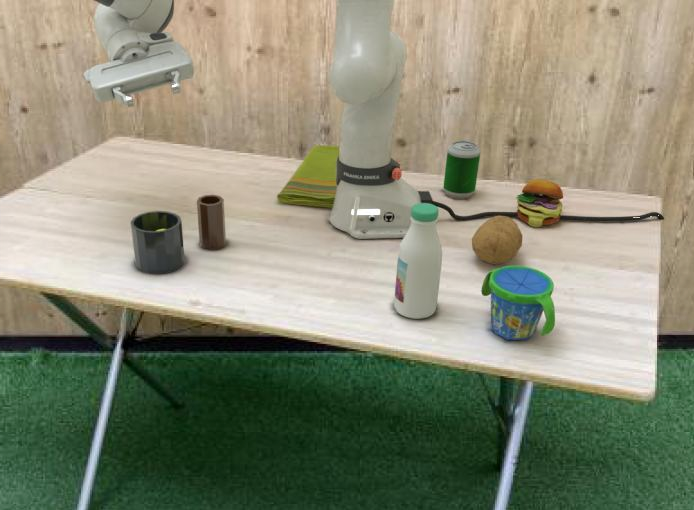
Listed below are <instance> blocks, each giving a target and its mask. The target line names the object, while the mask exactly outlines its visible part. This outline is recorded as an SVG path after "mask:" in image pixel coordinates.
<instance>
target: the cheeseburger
mask: <svg viewBox="0 0 694 510" xmlns="http://www.w3.org/2000/svg"><path fill="white" fill-rule="evenodd" d="M515 198H516V199H517V200H516V203H517V207H516V208H517V210H516V212H517V213H518V217H517V218H519V219H520V220H521V221H523V222H525V223H527V224H528V225H529V226H530V227H533V228H540V227H542V226H549V225H552V224H555V223H557V222H559V221H560V220H559V218H560V215H562V214H563V203H562V201H561V200H562V199H564V193H563V190H562V188H561V186H560V185H559V184H558V183H556V182H554V181H550V180H548V179H540V178H535V179H534V178H533V179H531V180H530V181H528V182H527V183H526V184H525V185H524V186H523V188H522V190H521V193H520V194H517V195H516V197H515Z"/></svg>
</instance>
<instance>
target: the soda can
mask: <svg viewBox="0 0 694 510" xmlns="http://www.w3.org/2000/svg"><path fill="white" fill-rule="evenodd" d="M446 152H447V153H446V161H445V169H444V177H443V178H444V180H443V186H442V191H444V192H445V194H446V195H447V197H449V198H452V199H455V200H456V199H458V200H464V199H468V198H470V197H471V196H472V195H474V194H475V192H476V187H477V180H478V172H479V166H480V165H479V164H480V158H481V148H479V146H478V144H477V143H476V142H472V141H468V140H456V141H453V142H452V143H451V144H450V145H448V147H447V151H446Z"/></svg>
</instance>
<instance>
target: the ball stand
mask: <svg viewBox="0 0 694 510" xmlns="http://www.w3.org/2000/svg"><path fill="white" fill-rule="evenodd" d="M196 210H197V211H196V212H197V224H198V237H199V238H198V239H199V244H200V245H199V246H200V247H201V248H202V249H204V250H208V251H217V250H221V249H223V248H225V247H226V241H227V237H226V236H227V234H226V216H225V215H226V214H225V199H224V198H223V197H222V196H220V195H217V194H205V195H201V196H199V197H198V198H197V200H196Z"/></svg>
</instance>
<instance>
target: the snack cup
mask: <svg viewBox="0 0 694 510" xmlns="http://www.w3.org/2000/svg"><path fill="white" fill-rule="evenodd" d="M554 286H555V284H554V281H553V279H552V278H551V277H550V276H549V275H548V274H546V273H545V272H543V271H541V270H539V269H536V268H533V267H529V266H524V265H506V266H502V267H498V268H495V269H492V270H490V271H488V272H487V273H486V275H485V277H484V279H483V282H482V285H481V290H480V291H481V295H482V296H483V297H487V296H490V315H489V316H490V329H491V330H492V331H493V332H494V333H495V334H496V335H498V336H499V337H502V338H504V339H505V340H507V341H508V340H514V341H522V340H528V339H530V337H532V336H533V334H535V332H536V330H537V327H538V325H539V323H540V320H541V317H542V316H543V314H544V317H545V322H544V325H543V327H542V330H541V331H540V336H546V335H548V334H550V333H551V332H552V331H553V330H554V329H555V325H556V312H555V311H556V309H555V305H554V299H553V298H552V295H553V292H554V288H555V287H554Z"/></svg>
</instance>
